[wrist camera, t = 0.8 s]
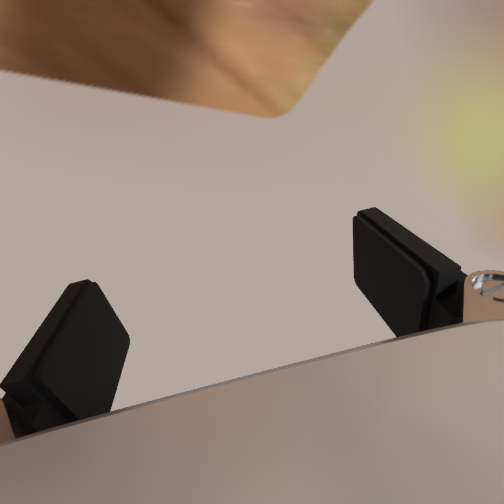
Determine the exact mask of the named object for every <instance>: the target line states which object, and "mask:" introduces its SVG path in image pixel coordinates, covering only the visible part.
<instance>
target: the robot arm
mask: <svg viewBox="0 0 504 504" xmlns="http://www.w3.org/2000/svg"><path fill="white" fill-rule="evenodd" d="M353 257H354V279H355V283H356V284H357V286H358V287H359V289H360V290H361V291H362V293H363V294H364V295H365V296H366V298H367V299H368V300H369V302H370V303H371V304H372V306H373V307H374V308H375V309H376V311H377V312H378V313H379V315H380V316H381V317H382V319H383V320H384V321H385V322H386V324H387V325H388V326H389V328H390V329H391V330H392V331H393V333H394V334H395V335H396V338H392V339H388V340H384V341H380V342H375V343H371V344H367V345H364V346H360V347H356V348H352V349H348V350H344V351H340V352H336V353H332V354H328V355H325V356H321V357H317V358H313V359H309V360H305V361H301V362H297V363H293V364H289V365H286V366H282V367H278V368H274V369H270V370H266V371H262V372H259V373H255V374H251V375H248V376H244V377H239V378H236V379H232V380H228V381H225V382H220V383H217V384H213V385H209V386H205V387H201V388H198V389H194V390H190V391H186V392H183V393H179V394H175V395H171V396H167V397H164V398H160V399H156V400H153V401H149V402H145V403H141V404H138V405H134V406H130V407H127V408H123V409H119V410H115V411H111V412H110V410H111V407H112V403H113V400H114V397H115V393H116V390H117V386H118V383H119V379H120V376H121V372H122V369H123V366H124V362H125V359H126V355H127V352H128V348H129V344H130V338H129V335H128V333H127V331H126V330H125V328H124V326H123V325H122V323H121V321H120V320H119V318H118V317H117V315H116V313H115V312H114V310H113V308H112V307H111V305H110V304H109V302H108V300H107V299H106V297H105V295H104V294H103V292H102V290H101V289H100V287H99V285H98V284H97V283H96V282H91V281H90V280H88V279H87V280H83V281H79V282H75V283H71V284H69V285H68V286H67V288H66V289H65V291H64V292H63V294H62V295H61V297H60V298H59V300H58V301H57V302H56V304H55V305H54V307H53V308H52V310H51V311H50V313H49V314H48V316H47V317H46V318H45V320H44V321H43V323H42V324H41V326H40V327H39V329H38V330H37V331H36V333H35V334H34V336H33V337H32V339H31V340H30V342H29V343H28V345H27V346H26V347H25V349H24V351H23V352H22V353H21V355H20V356H19V358H18V359H17V361H16V362H15V364H14V365H13V366H12V368H11V369H10V371H9V372H8V374H7V375H6V377H5V378H4V379H3V381H2V382H1V384H0V388H1V389H3V390H4V391H5V392H6V393H5V395H4V397H3V398H2V399H1V398H0V504H504V272H502V271H495V270H485V271H477V272H474V273H471V274H470V275H468V276H467V275H466V274H465V273H463V272H462V271H461V266H459V265H458V264H457V263H455V262H454V261H452V260H451V259H449V258H448V257H447V256H445V255H444V254H442V253H441V252H439V251H438V250H436V249H435V248H434V247H432V246H431V245H429V244H428V243H426V242H425V241H423V240H422V239H420V238H419V237H418V236H416V235H415V234H413V233H412V232H411V231H409V230H408V229H406V228H405V227H403V226H402V225H400V224H399V223H397V222H396V221H395V220H393V219H392V218H390V217H389V216H388V215H386V214H384V213H383V212H382V211H380V210H379V209H377V208H376V207H374V208H370V209H365V210H362V211H358V213H357V216H354V217H353Z"/></svg>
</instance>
